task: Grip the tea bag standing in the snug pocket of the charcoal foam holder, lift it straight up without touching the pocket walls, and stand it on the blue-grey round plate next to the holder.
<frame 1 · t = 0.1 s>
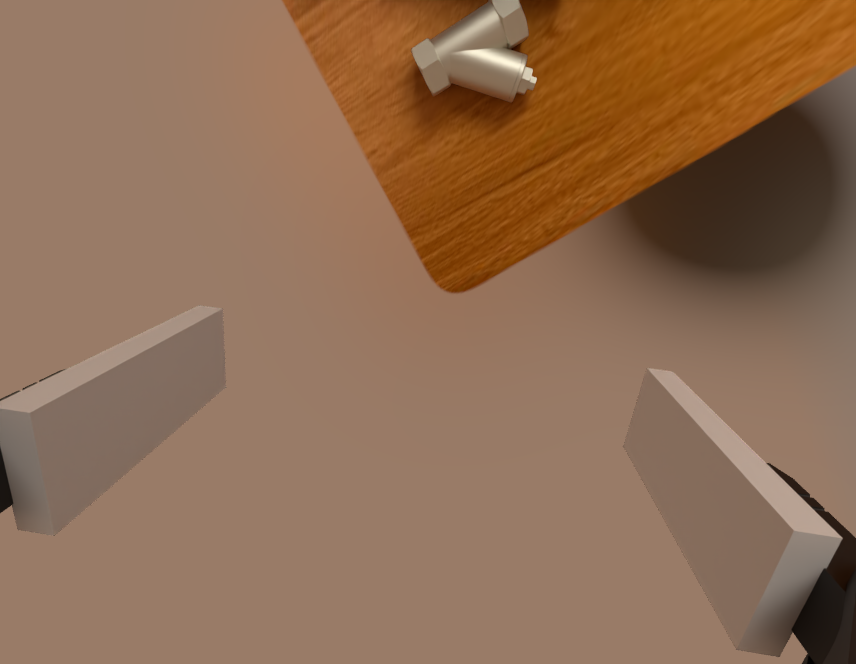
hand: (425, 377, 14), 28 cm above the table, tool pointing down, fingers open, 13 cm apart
pipe fitting: (478, 72, 36), on the table
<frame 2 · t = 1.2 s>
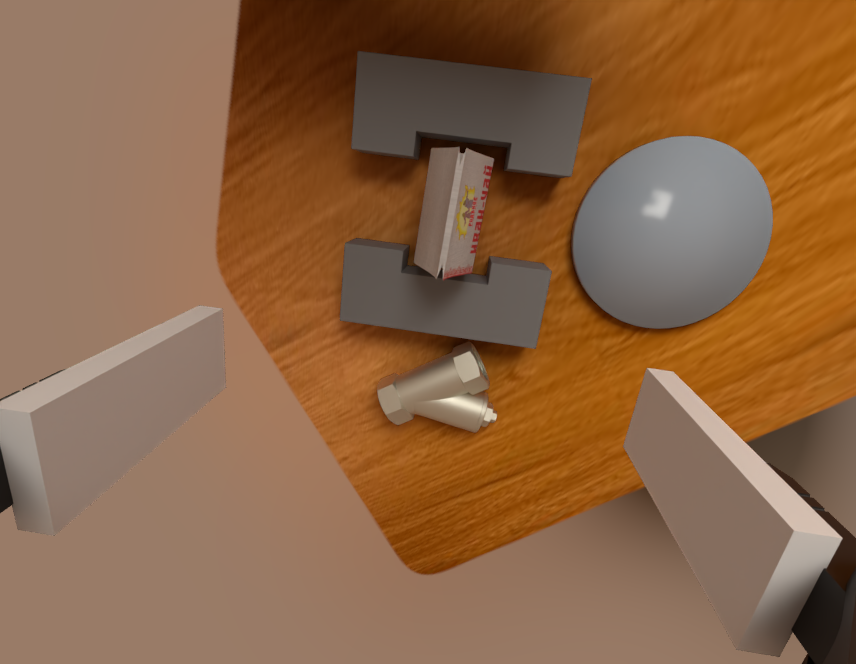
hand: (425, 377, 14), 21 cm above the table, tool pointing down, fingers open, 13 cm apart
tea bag: (455, 209, 33), on the table
pipe fitting: (443, 390, 38), on the table
foam holder: (455, 209, 33), on the table
blue-grey round plate: (664, 236, 32), on the table
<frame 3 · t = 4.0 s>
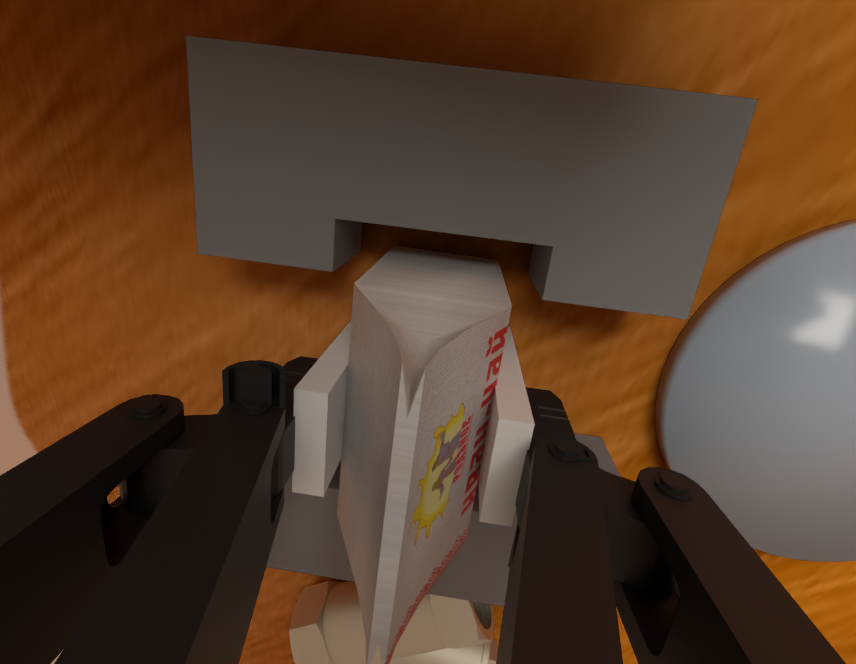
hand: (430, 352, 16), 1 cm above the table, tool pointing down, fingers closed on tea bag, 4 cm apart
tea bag: (434, 339, 17), on the table, touching gripper
pipe fitting: (414, 597, 22), on the table
foam holder: (433, 341, 17), on the table
blue-grey round plate: (843, 398, 17), on the table
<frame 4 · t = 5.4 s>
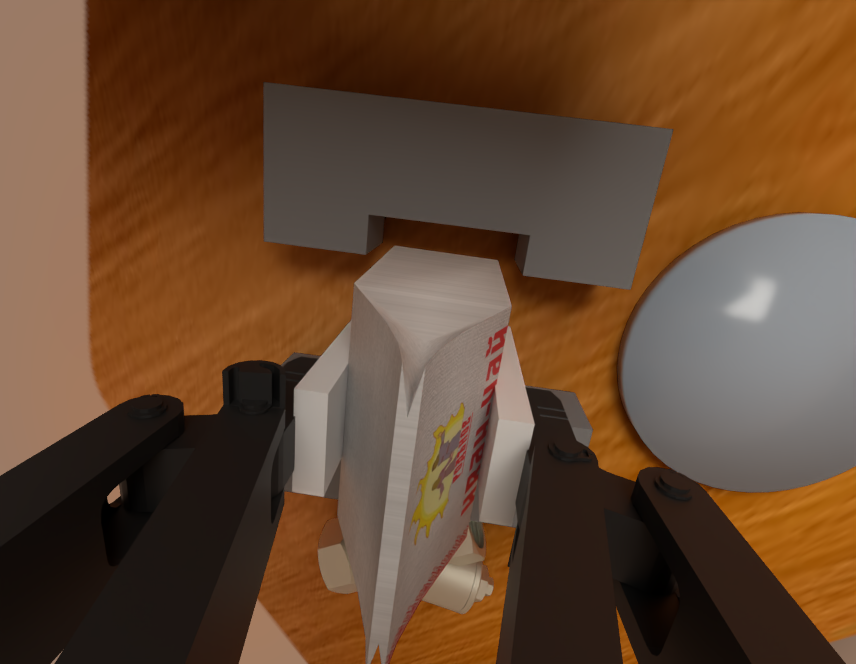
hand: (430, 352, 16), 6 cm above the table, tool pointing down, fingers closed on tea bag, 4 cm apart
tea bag: (434, 339, 17), point 4 cm above the table, touching gripper
pipe fitting: (418, 533, 26), on the table
foam holder: (439, 314, 22), on the table
blue-grey round plate: (764, 359, 21), on the table
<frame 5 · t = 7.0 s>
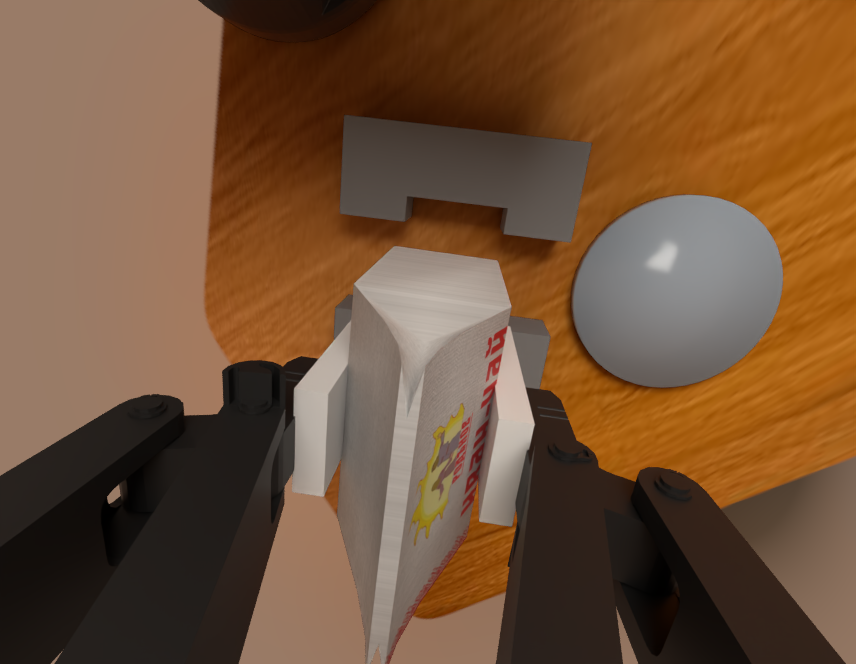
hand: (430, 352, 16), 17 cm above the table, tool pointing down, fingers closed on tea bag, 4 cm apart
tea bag: (433, 339, 17), point 15 cm above the table, touching gripper
foam holder: (449, 266, 32), on the table
blue-grey round plate: (669, 294, 31), on the table
when the fingers open (4 cm above the table, at t = 10.1 s): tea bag stays where it is, resting on blue-grey round plate.
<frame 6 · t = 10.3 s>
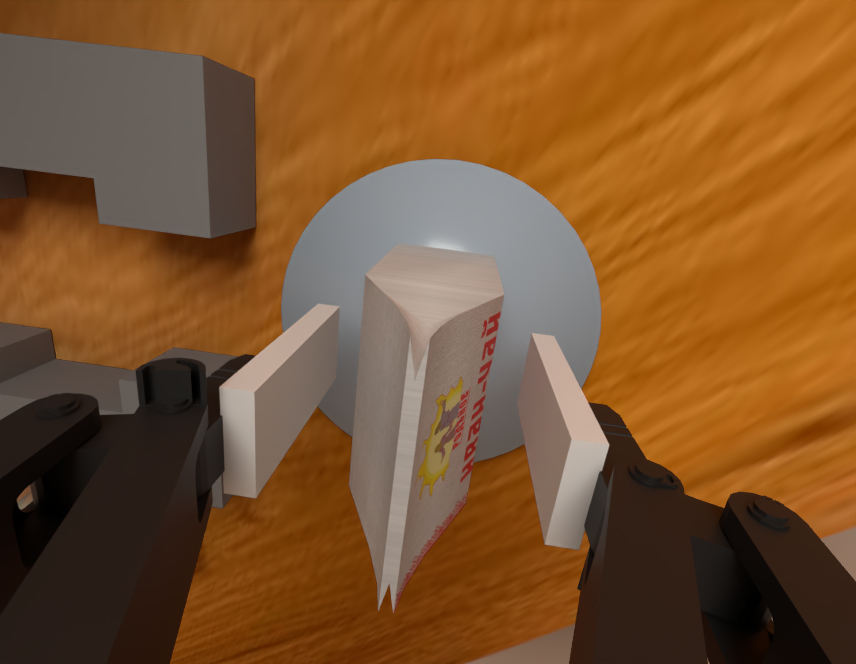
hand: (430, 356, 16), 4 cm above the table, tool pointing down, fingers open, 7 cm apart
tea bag: (435, 329, 19), point 1 cm above the table, touching blue-grey round plate
foam holder: (103, 275, 20), on the table
blue-grey round plate: (438, 321, 20), on the table
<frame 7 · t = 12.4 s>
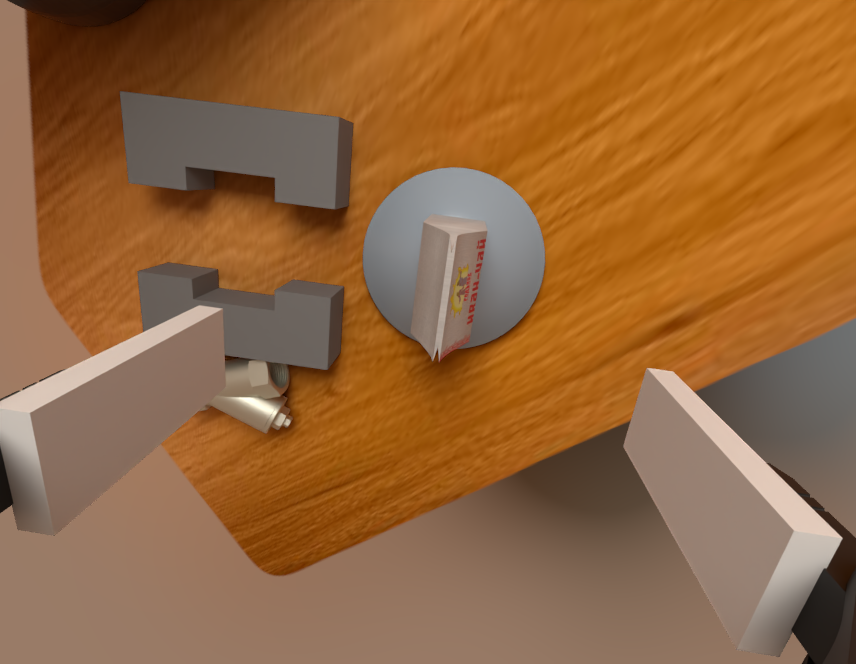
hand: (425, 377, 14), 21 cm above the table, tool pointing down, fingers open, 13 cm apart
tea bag: (451, 264, 33), point 1 cm above the table, touching blue-grey round plate
pipe fitting: (252, 386, 39), on the table
foam holder: (254, 235, 34), on the table
blue-grey round plate: (452, 261, 34), on the table
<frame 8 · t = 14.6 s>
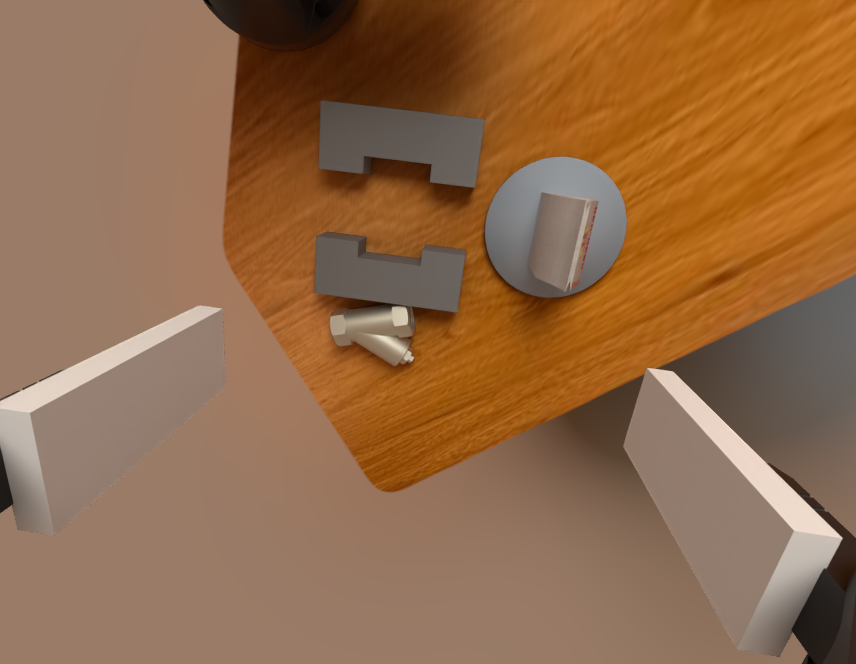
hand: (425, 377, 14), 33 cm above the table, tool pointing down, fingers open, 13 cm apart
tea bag: (553, 231, 43), point 1 cm above the table, touching blue-grey round plate
pipe fitting: (380, 330, 49), on the table
foam holder: (398, 209, 45), on the table
blue-grey round plate: (552, 229, 44), on the table
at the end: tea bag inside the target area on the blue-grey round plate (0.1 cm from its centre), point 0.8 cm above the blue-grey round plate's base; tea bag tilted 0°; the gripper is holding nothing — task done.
